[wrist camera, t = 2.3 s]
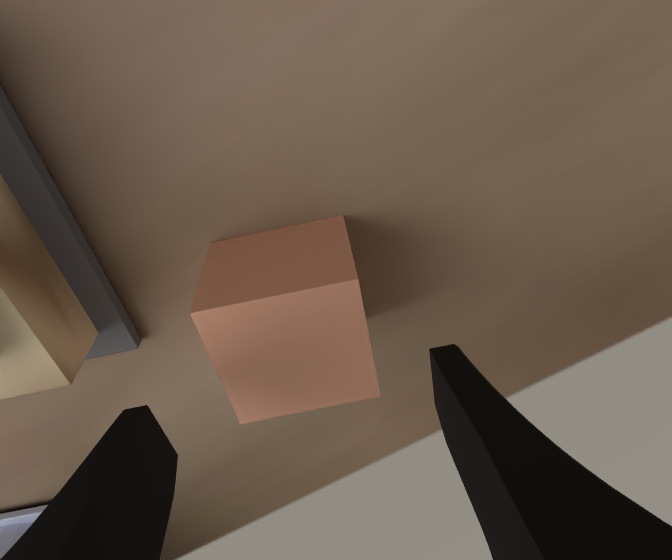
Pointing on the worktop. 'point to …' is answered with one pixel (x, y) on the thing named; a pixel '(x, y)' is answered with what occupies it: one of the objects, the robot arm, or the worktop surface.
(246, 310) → the terracotta block
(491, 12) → the worktop surface
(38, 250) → the oak slab
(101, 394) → the worktop surface
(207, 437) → the worktop surface
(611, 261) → the worktop surface
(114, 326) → the rubber mat
